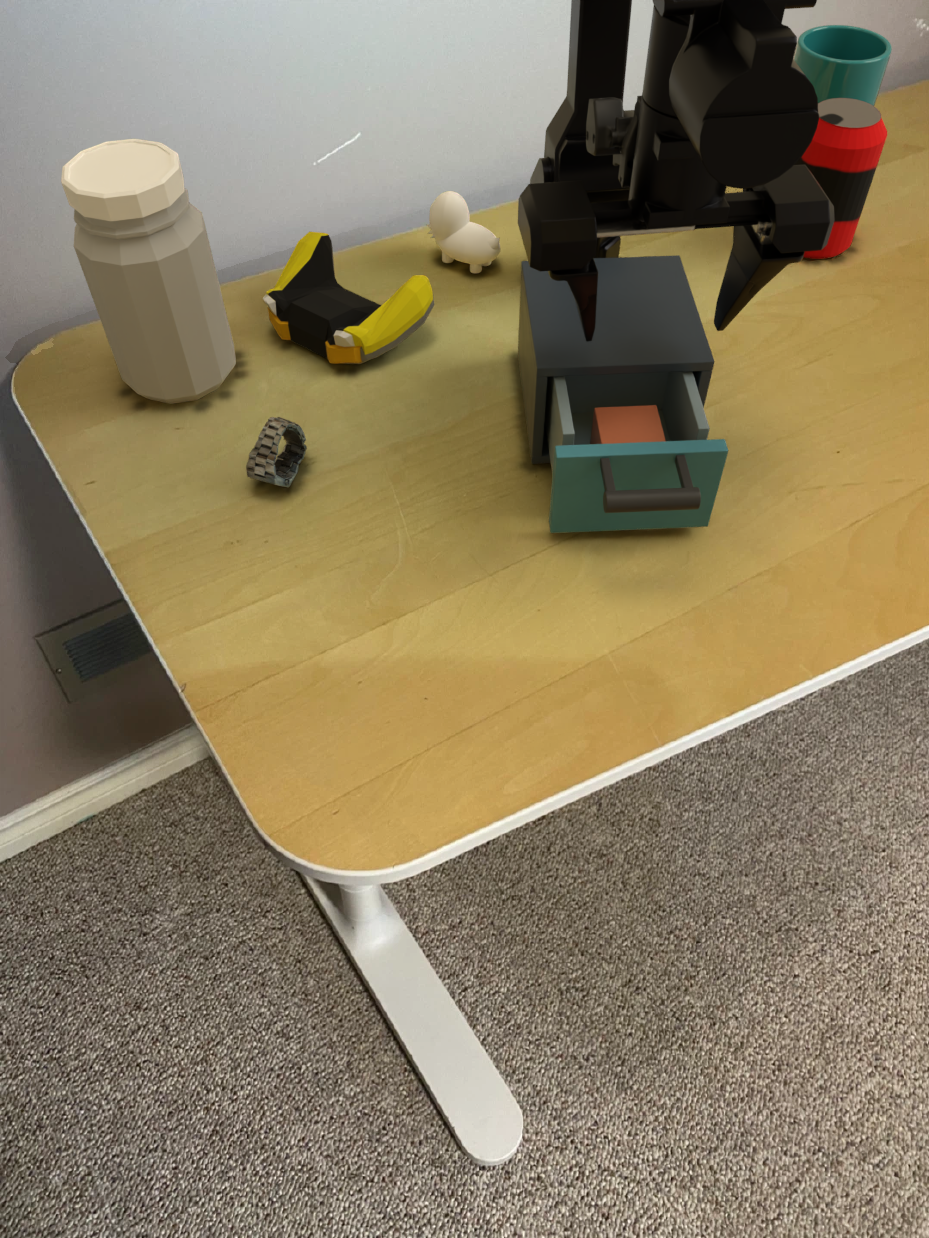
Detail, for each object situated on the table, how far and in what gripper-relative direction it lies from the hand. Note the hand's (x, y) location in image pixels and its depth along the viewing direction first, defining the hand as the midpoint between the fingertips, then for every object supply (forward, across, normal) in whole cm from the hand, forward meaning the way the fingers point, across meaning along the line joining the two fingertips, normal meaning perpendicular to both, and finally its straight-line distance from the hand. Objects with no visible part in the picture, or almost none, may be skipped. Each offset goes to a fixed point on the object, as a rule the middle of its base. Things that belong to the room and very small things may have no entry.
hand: (653, 332), depth 66 cm
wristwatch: (+11, +27, -1) cm, 30 cm away
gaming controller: (+12, +22, -19) cm, 31 cm away
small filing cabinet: (+11, +1, -6) cm, 13 cm away
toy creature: (+12, +10, -29) cm, 32 cm away
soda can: (+11, -24, -28) cm, 39 cm away
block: (+9, +2, +4) cm, 10 cm away
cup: (+12, -31, -45) cm, 56 cm away
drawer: (+10, +2, +5) cm, 12 cm away
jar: (+12, +36, -15) cm, 40 cm away
